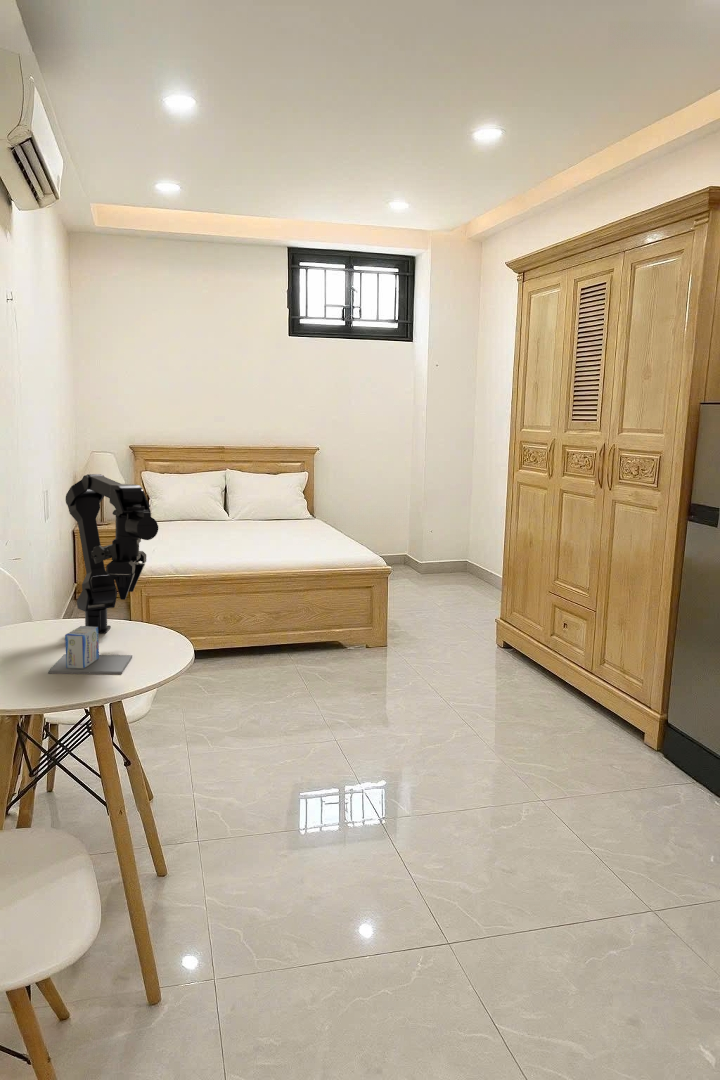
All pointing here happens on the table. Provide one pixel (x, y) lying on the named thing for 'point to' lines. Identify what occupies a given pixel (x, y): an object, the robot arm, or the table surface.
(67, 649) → the medicine box
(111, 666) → the mat
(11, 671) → the table surface
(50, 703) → the table surface
